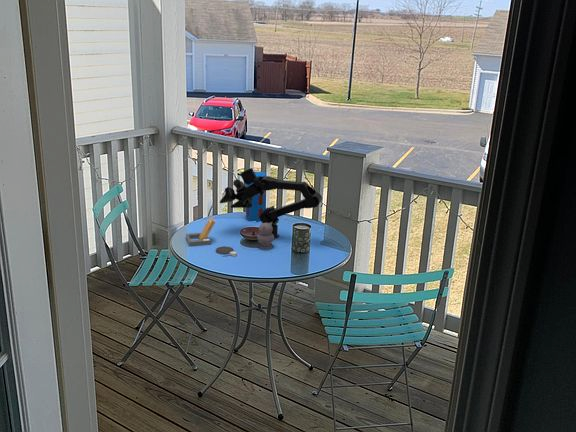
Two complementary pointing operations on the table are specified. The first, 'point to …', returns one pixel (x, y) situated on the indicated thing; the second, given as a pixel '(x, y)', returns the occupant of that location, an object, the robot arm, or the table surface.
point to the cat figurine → (265, 236)
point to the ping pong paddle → (226, 251)
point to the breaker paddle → (207, 228)
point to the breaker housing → (197, 242)
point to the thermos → (256, 204)
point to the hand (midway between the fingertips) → (225, 204)
